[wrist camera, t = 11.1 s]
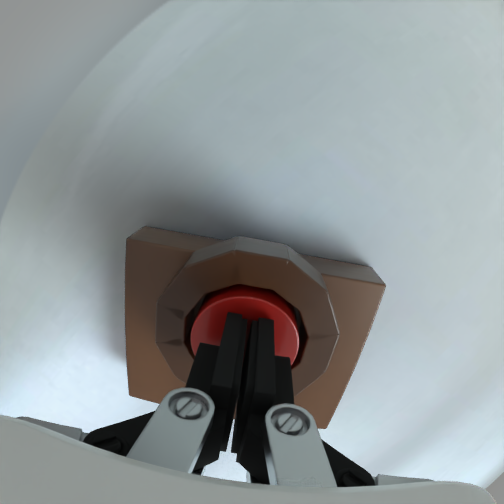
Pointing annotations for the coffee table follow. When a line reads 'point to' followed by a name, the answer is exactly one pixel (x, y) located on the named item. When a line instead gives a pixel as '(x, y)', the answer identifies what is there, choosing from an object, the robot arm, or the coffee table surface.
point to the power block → (253, 274)
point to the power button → (246, 317)
